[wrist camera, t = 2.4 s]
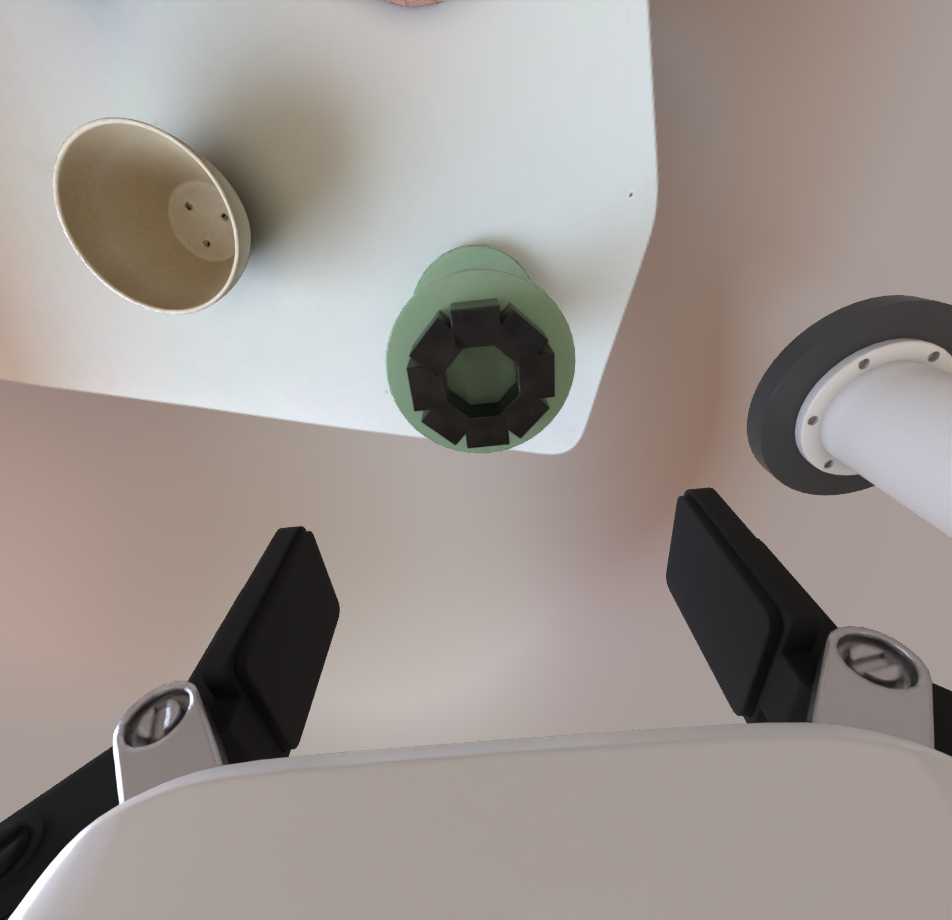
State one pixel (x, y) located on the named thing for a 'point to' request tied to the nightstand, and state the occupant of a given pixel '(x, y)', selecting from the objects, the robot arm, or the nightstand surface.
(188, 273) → the flower pot
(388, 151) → the nightstand surface
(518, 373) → the ring
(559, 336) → the stand
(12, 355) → the nightstand surface
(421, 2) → the bowl
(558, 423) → the nightstand surface
